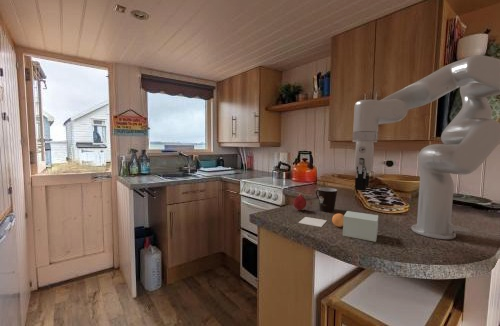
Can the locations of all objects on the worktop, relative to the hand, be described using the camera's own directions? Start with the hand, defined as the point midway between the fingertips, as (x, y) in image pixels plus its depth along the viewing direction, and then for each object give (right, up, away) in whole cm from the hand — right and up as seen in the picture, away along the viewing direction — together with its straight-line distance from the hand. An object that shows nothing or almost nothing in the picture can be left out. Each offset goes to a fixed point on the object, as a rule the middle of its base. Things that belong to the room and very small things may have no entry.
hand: (361, 188), depth 83 cm
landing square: (-13, -15, +15) cm, 25 cm away
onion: (-15, -14, +31) cm, 37 cm away
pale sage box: (0, -16, +1) cm, 16 cm away
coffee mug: (-2, -14, +34) cm, 36 cm away
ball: (-4, -13, +9) cm, 17 cm away
